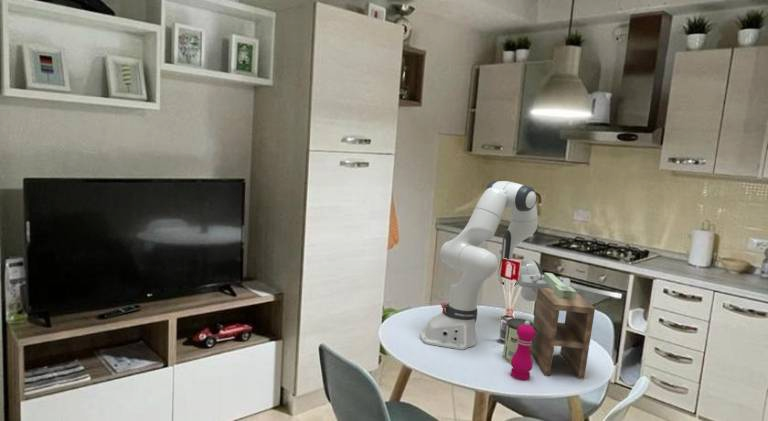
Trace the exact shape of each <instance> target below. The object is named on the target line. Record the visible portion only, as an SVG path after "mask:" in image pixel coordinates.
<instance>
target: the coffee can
mask: <svg viewBox="0 0 768 421" xmlns="http://www.w3.org/2000/svg"><path fill="white" fill-rule="evenodd" d="M525 321H529V322H530V326H531V327H533V328H534V330H535V324H534V323H533V321H530V320H526V319H523V318H509V319H507V320H506V325H505V326H506V328H505V337H504V342H503V343H504V344H503V352H502V358H503V360H504V361H506V362H508V363H510V364H511V360H512V357H513V355H514V354H515V352H516V351H517V348H518V342H517V340H518V339H517V338H518V337H519V336H518V335H517V329H518V327H519V326H520V325H523V324H524V323H525ZM532 344H533V339H532ZM531 352H532V345H531V346H530V356H531V357H532V355H531Z"/></svg>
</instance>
